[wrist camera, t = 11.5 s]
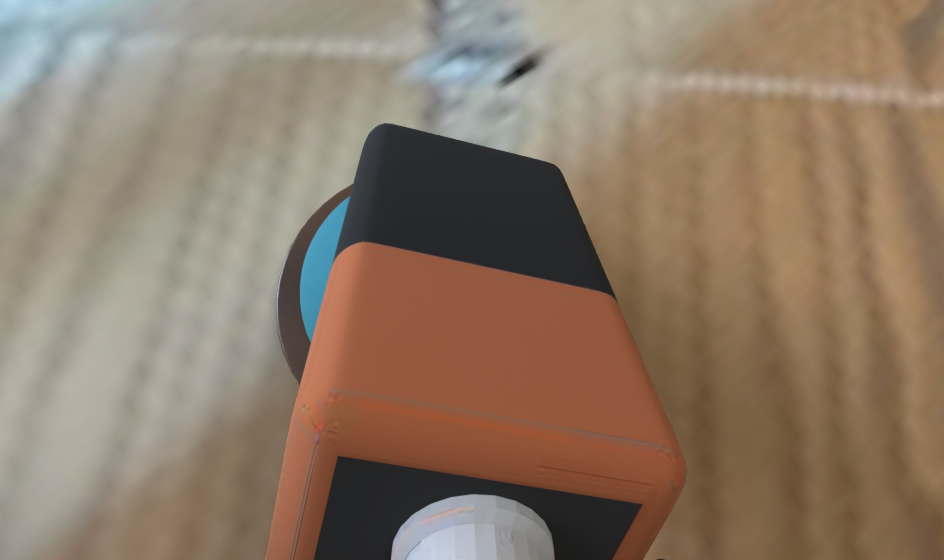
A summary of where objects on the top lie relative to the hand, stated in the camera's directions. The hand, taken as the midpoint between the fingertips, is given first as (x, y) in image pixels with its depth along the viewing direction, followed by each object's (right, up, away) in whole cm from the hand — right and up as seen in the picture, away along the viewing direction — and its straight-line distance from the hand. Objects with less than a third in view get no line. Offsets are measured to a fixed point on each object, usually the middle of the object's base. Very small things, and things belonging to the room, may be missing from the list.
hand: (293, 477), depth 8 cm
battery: (+1, +3, +8) cm, 9 cm away
